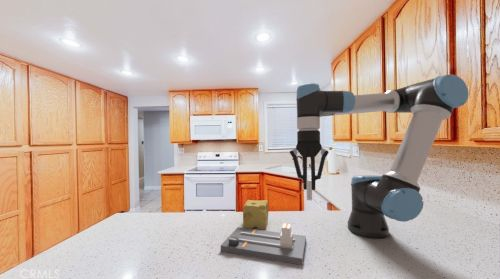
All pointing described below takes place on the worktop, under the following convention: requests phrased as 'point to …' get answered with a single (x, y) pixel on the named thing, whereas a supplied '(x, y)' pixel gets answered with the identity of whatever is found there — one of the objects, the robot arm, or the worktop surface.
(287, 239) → the fader
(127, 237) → the worktop surface
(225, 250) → the console
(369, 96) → the robot arm
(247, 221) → the cheese
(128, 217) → the worktop surface
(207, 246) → the worktop surface
